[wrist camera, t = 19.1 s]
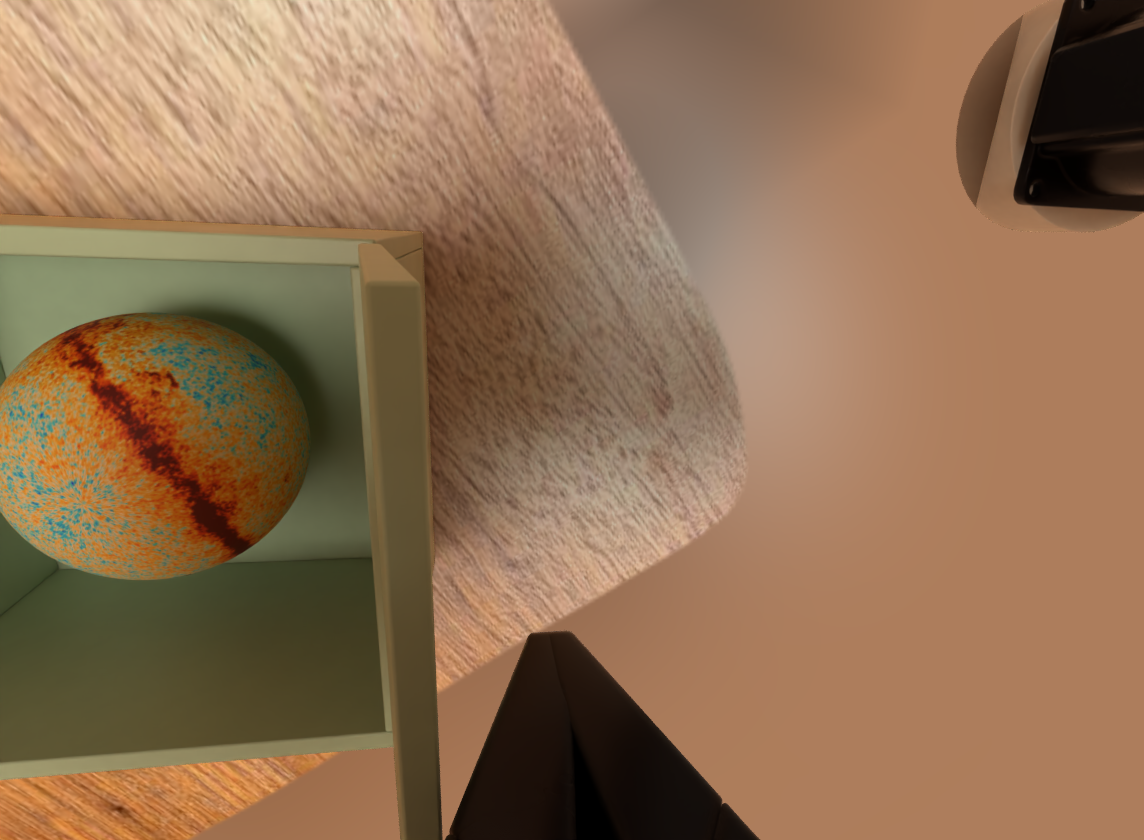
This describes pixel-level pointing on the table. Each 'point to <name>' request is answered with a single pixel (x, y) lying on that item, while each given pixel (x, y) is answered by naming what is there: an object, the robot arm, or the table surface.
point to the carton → (240, 585)
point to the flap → (403, 530)
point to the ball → (149, 446)
